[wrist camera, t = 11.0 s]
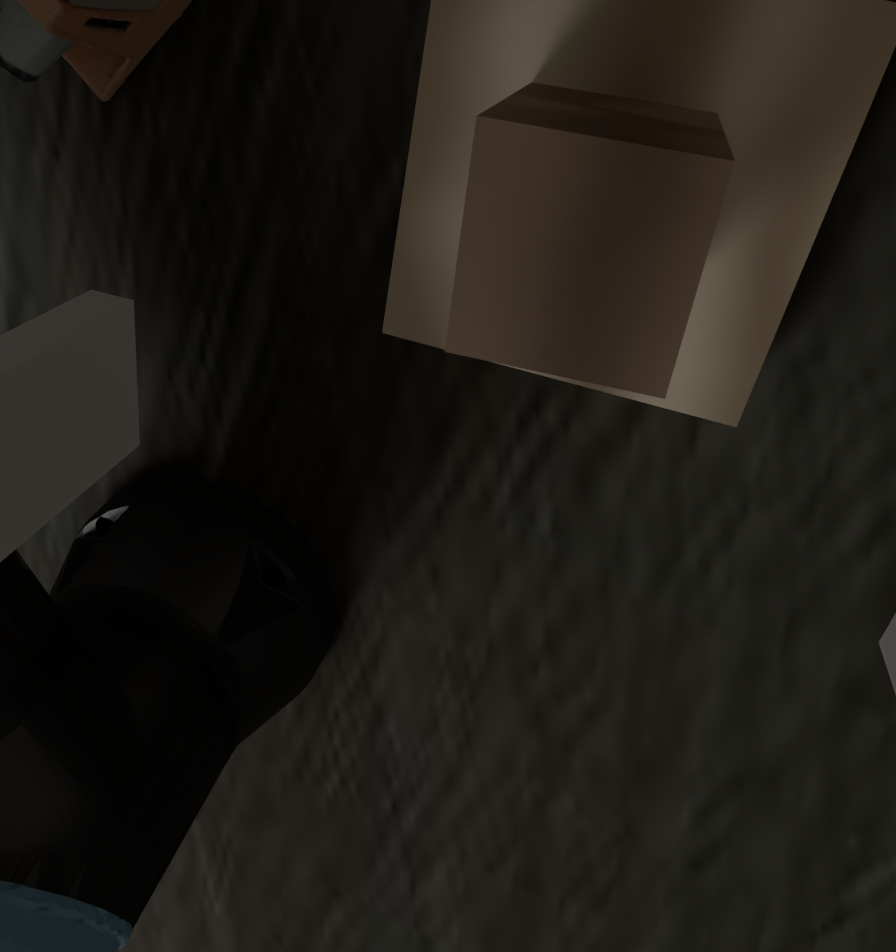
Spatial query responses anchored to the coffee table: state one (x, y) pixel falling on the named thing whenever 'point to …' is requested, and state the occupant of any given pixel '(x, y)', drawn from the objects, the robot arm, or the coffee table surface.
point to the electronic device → (83, 37)
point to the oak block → (672, 83)
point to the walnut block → (586, 234)
